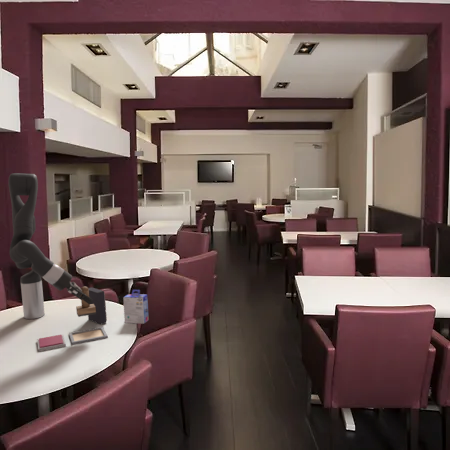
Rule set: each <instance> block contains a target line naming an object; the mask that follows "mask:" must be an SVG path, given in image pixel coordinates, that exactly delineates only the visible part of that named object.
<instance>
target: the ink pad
mask: <svg viewBox="0 0 450 450" xmlns="http://www.w3.org/2000/svg"><path fill="white" fill-rule="evenodd" d="M36 342H37V351H38V352H42V351H48V350H53V349H59V348H64V347H66V346H67V345H66V341H65V337H64V334H57V335H52V336H45V337H40V338H38V339H36Z"/></svg>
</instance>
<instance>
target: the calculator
mask: <svg viewBox="0 0 450 450" xmlns="http://www.w3.org/2000/svg"><path fill="white" fill-rule="evenodd" d="M88 289H89V296H90V297H91V299H92V300H93V302H92V303H91V304H94V305H95V307H96V314H93V315H87V319H88V320H89V321H90V322H94V323H96V324H98V325H104V324H107V321H108V320H107V319H108V317H107V307H106V306H107V305H106V294H105V291H104V290H101V289H98V288H96V287H95V288H94V287H92V286H91V287H88Z"/></svg>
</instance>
